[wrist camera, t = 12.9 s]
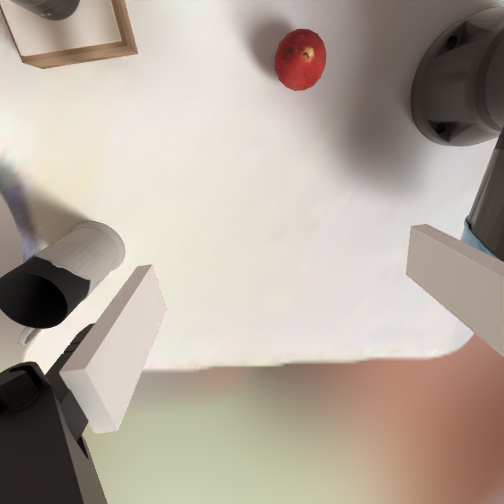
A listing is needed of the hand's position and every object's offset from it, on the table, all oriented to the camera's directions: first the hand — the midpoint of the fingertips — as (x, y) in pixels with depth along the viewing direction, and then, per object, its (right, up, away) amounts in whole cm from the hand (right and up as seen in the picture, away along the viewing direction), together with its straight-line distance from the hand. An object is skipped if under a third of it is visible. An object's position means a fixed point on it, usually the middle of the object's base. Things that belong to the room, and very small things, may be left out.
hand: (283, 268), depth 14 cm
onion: (+4, +24, +21) cm, 32 cm away
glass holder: (-28, -1, +30) cm, 41 cm away
